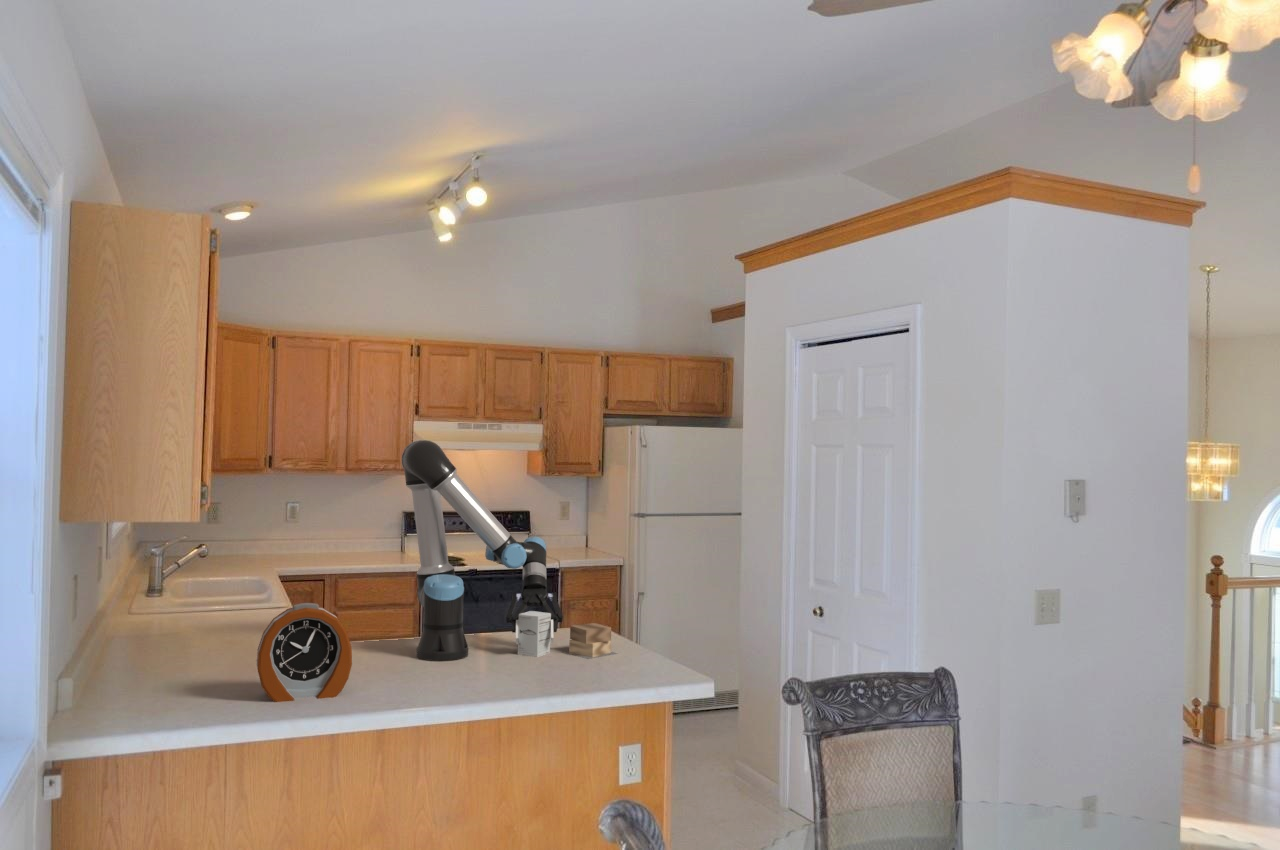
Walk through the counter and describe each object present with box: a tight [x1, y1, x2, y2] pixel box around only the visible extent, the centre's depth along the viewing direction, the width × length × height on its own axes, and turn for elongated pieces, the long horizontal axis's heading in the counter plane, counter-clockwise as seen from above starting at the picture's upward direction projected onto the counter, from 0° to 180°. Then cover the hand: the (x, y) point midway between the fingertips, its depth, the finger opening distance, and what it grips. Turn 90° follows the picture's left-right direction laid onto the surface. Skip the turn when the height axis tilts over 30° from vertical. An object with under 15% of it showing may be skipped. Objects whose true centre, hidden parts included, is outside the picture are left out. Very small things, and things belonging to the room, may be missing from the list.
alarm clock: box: [256, 602, 353, 703], centre depth 242 cm, size 22×10×23 cm, turn 114°
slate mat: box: [562, 651, 619, 660], centre depth 294 cm, size 12×12×1 cm
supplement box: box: [517, 610, 551, 658], centre depth 292 cm, size 7×7×13 cm
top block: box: [569, 622, 612, 644], centre depth 294 cm, size 9×9×4 cm
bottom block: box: [568, 639, 612, 657], centre depth 294 cm, size 9×9×4 cm
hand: (534, 640), depth 289 cm, fingers closed on supplement box, 10 cm apart
